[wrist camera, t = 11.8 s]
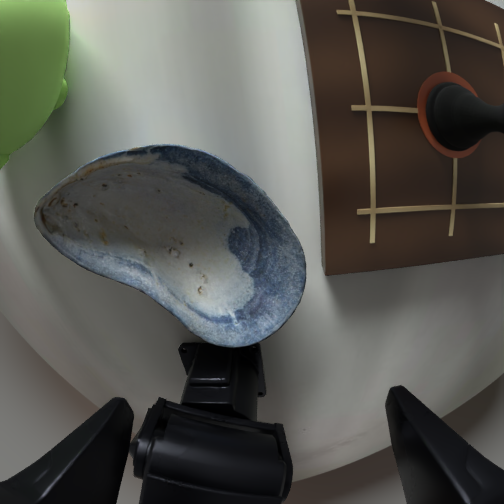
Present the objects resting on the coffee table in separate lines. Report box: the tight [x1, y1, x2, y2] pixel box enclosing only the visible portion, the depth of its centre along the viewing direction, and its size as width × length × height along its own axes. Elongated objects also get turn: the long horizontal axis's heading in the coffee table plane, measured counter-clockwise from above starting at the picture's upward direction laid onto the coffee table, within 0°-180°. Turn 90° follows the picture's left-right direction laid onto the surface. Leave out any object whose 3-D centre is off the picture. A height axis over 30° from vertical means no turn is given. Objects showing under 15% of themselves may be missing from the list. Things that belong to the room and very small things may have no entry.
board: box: [296, 0, 504, 276], centre depth 14 cm, size 20×18×2 cm
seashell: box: [34, 144, 306, 348], centre depth 17 cm, size 15×12×5 cm
